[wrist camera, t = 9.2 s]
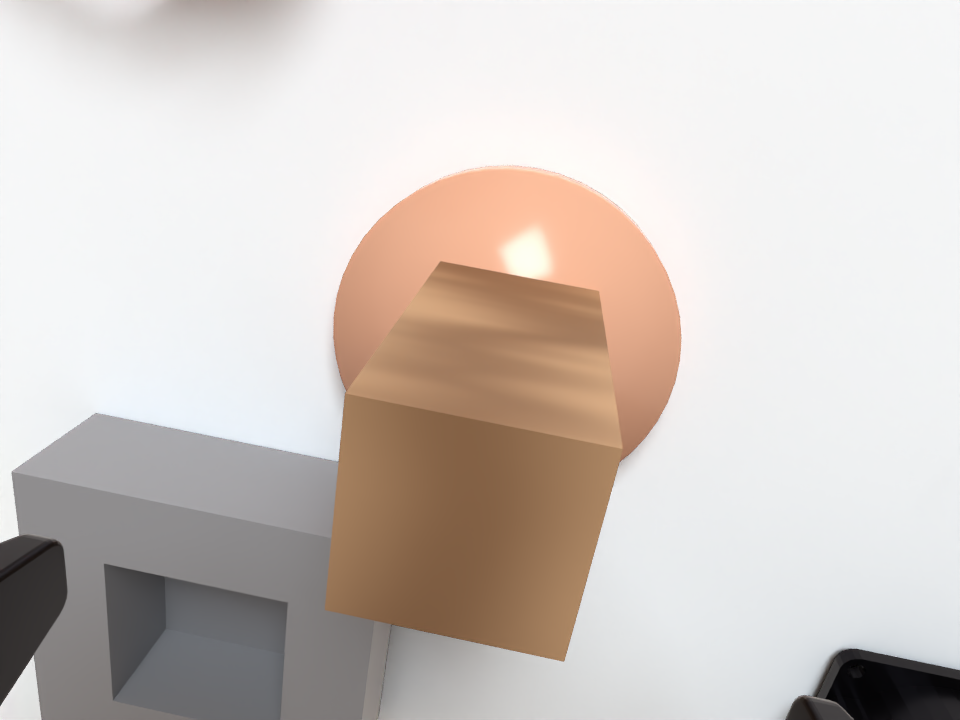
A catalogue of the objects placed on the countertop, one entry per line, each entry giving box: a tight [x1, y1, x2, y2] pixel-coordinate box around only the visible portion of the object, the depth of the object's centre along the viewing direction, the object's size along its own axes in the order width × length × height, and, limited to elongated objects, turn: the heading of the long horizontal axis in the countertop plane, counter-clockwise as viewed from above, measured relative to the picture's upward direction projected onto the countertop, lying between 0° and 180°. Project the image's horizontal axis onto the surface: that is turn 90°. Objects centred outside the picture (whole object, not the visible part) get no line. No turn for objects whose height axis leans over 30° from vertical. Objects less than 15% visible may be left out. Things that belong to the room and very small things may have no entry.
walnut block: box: [325, 261, 623, 661], centre depth 14 cm, size 4×4×8 cm
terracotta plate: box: [333, 166, 681, 461], centre depth 18 cm, size 9×9×1 cm
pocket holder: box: [12, 413, 391, 720], centre depth 21 cm, size 10×10×4 cm
